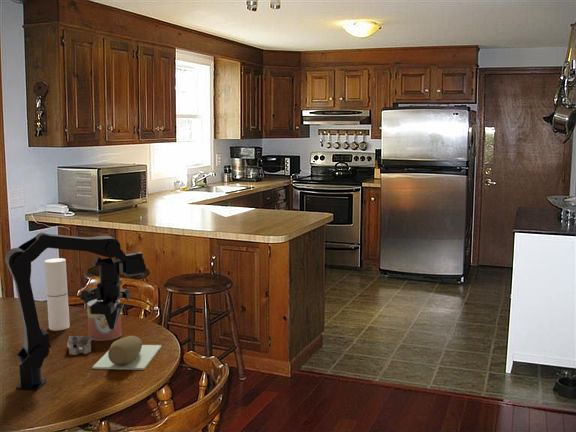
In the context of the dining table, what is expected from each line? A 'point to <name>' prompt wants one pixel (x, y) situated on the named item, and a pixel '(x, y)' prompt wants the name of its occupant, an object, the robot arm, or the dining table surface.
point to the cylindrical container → (57, 294)
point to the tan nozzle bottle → (124, 350)
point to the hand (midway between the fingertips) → (112, 328)
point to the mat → (136, 364)
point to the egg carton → (79, 344)
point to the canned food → (101, 326)
